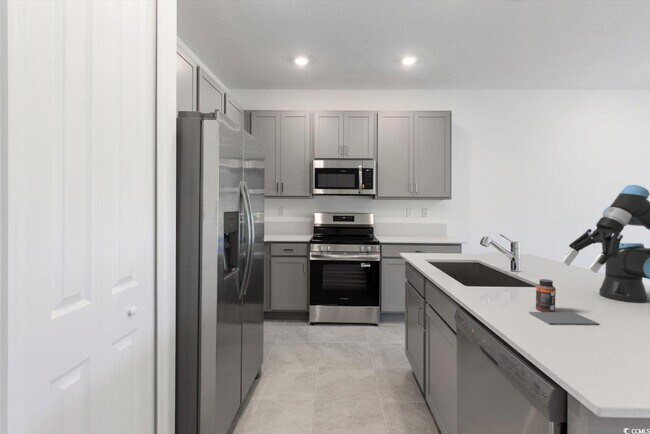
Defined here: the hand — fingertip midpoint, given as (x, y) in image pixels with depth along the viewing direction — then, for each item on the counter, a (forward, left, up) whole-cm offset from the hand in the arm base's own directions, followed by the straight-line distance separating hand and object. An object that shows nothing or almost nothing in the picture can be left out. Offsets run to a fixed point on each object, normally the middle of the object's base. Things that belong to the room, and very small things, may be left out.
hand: (578, 266), depth 125 cm
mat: (+15, +14, -15) cm, 26 cm away
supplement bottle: (+15, +5, -16) cm, 22 cm away
